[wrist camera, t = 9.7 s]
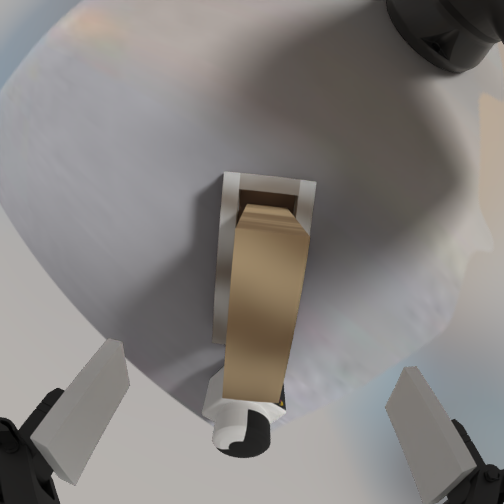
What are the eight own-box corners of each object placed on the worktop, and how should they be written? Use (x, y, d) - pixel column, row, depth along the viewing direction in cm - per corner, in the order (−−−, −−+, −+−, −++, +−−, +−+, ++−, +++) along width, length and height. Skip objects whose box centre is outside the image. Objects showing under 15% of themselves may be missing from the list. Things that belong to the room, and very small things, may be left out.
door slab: (247, 203, 29) (235, 228, 15) (286, 207, 29) (310, 236, 15) (236, 311, 32) (222, 398, 18) (272, 315, 32) (278, 403, 18)
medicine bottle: (284, 375, 35) (290, 445, 24) (249, 403, 37) (245, 470, 25) (241, 347, 34) (234, 418, 23) (208, 378, 36) (192, 446, 24)
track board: (226, 171, 29) (221, 171, 25) (312, 181, 29) (319, 182, 25) (214, 327, 34) (209, 342, 30) (288, 334, 34) (291, 350, 30)
